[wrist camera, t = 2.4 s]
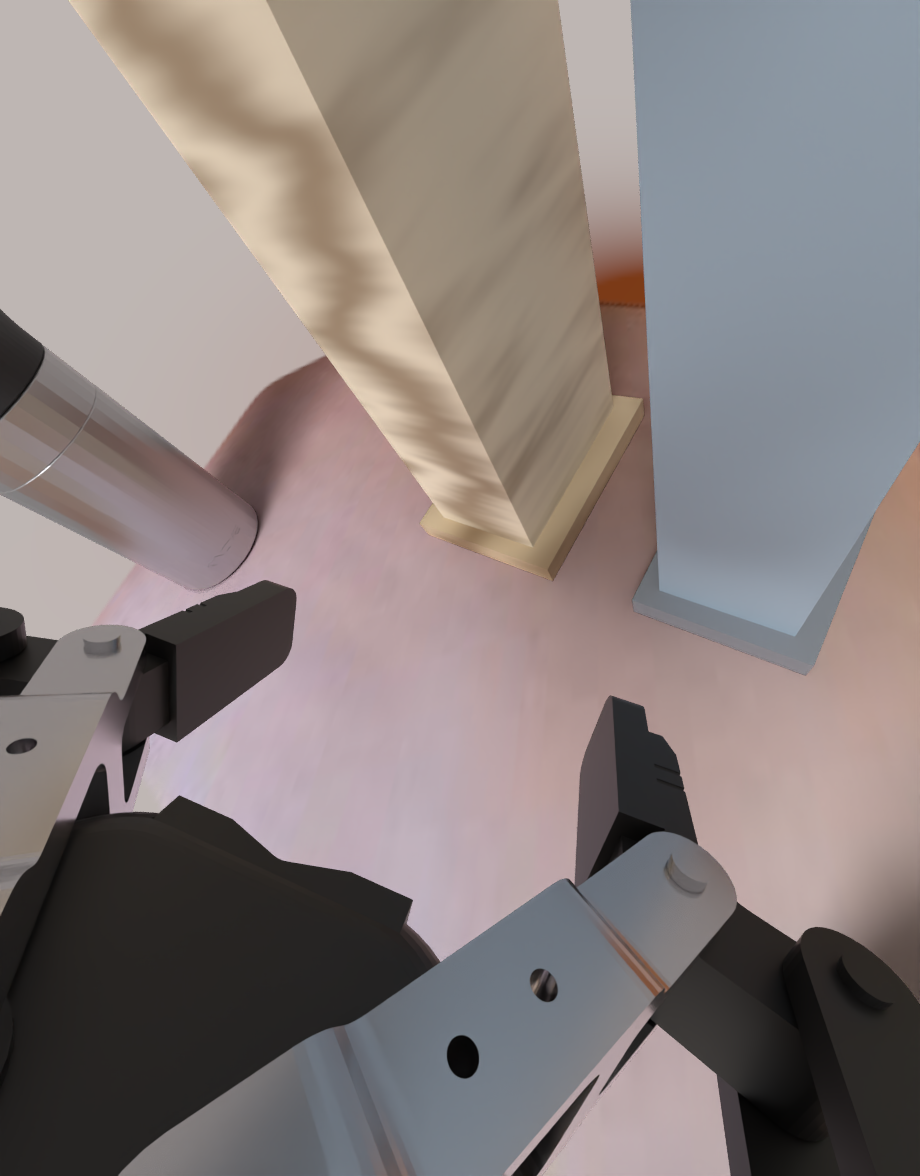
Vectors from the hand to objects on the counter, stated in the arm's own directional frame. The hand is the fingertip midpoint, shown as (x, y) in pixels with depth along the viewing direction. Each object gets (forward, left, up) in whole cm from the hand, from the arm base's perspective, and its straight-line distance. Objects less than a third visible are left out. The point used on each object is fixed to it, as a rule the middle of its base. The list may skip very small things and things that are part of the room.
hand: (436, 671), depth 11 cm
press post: (+4, +15, -15) cm, 22 cm away
